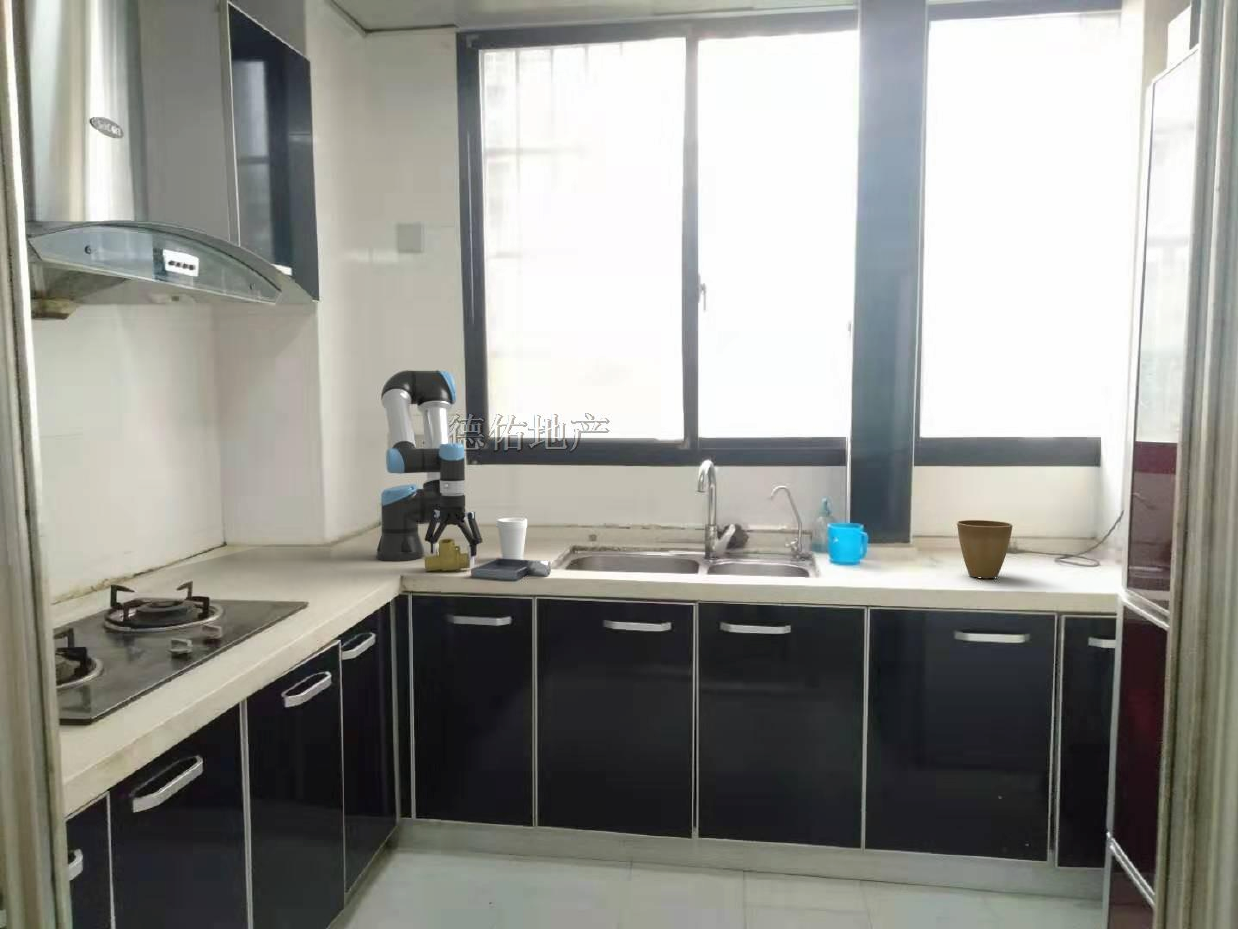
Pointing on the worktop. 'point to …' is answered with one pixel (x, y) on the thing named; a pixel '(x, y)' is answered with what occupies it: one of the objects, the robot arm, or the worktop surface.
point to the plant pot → (984, 546)
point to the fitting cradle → (511, 569)
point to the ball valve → (447, 558)
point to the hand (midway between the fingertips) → (453, 565)
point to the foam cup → (512, 537)
